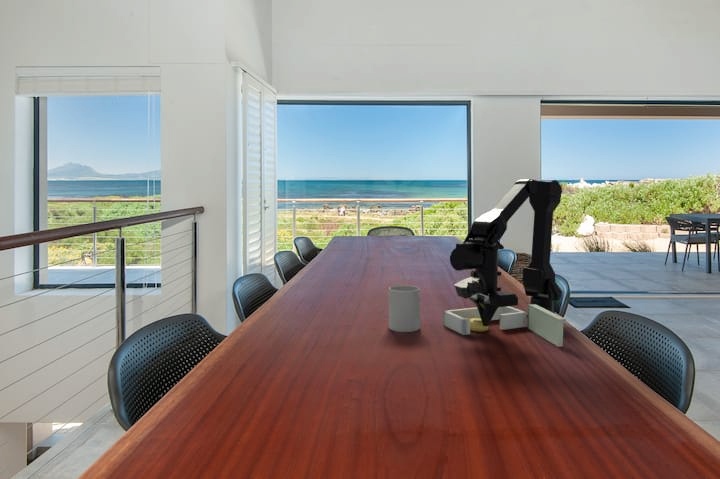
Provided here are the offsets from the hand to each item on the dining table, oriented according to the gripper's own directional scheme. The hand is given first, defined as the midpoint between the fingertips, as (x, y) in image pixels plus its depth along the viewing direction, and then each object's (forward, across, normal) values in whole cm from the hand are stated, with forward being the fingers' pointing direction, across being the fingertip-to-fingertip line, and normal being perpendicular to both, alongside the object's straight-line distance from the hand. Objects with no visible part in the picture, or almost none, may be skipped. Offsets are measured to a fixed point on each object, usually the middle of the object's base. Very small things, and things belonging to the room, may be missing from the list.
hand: (485, 326), depth 121 cm
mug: (+2, -13, -17) cm, 21 cm away
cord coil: (+2, -3, 0) cm, 4 cm away
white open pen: (+2, -5, +3) cm, 6 cm away
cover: (+2, +10, +11) cm, 15 cm away
